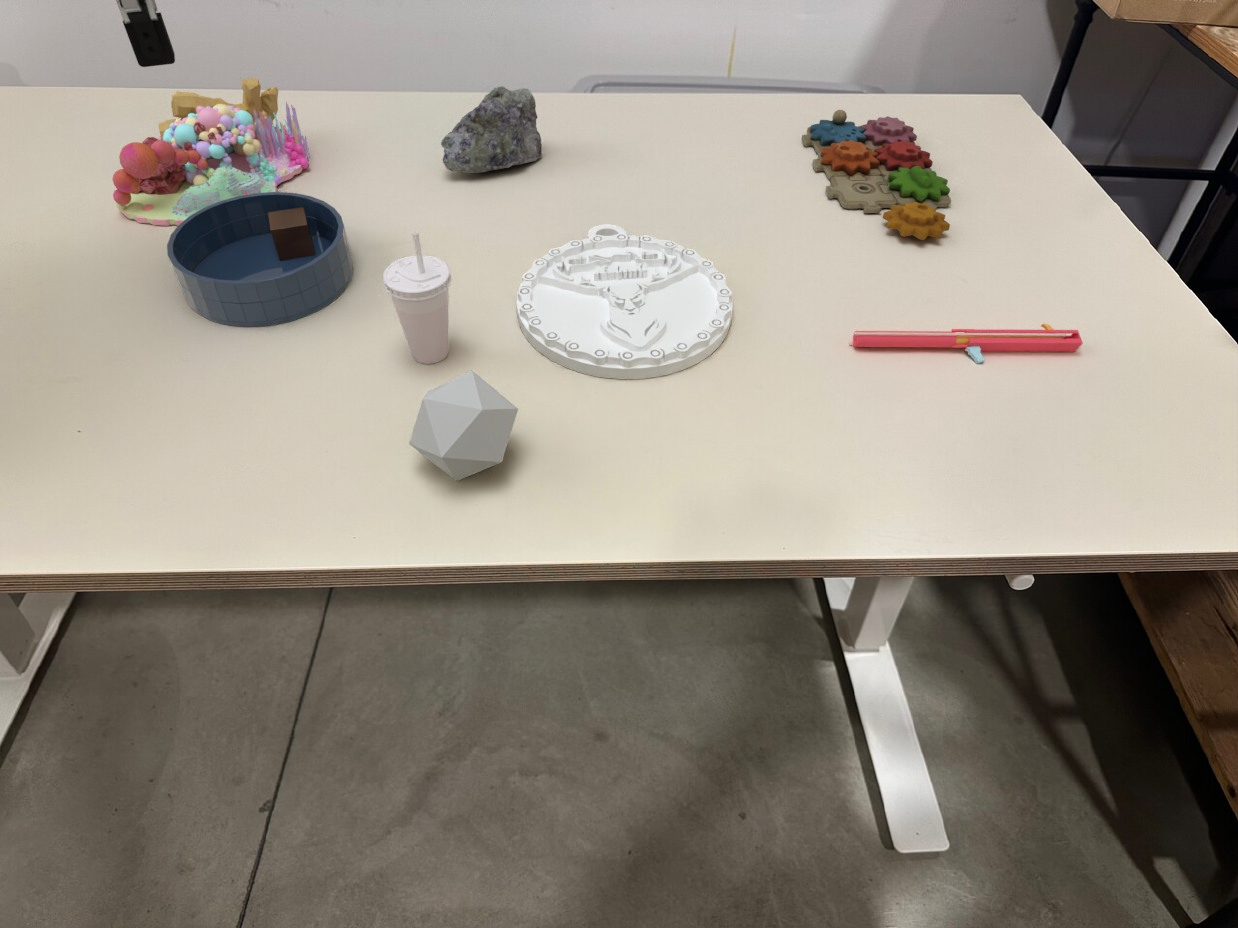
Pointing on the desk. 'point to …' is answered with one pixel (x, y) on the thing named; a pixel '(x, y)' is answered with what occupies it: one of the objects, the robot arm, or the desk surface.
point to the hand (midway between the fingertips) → (157, 61)
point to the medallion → (624, 305)
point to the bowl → (258, 261)
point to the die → (463, 426)
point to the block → (291, 233)
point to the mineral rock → (495, 134)
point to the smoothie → (421, 302)
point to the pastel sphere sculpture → (209, 156)
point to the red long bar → (975, 340)
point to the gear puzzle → (881, 172)
